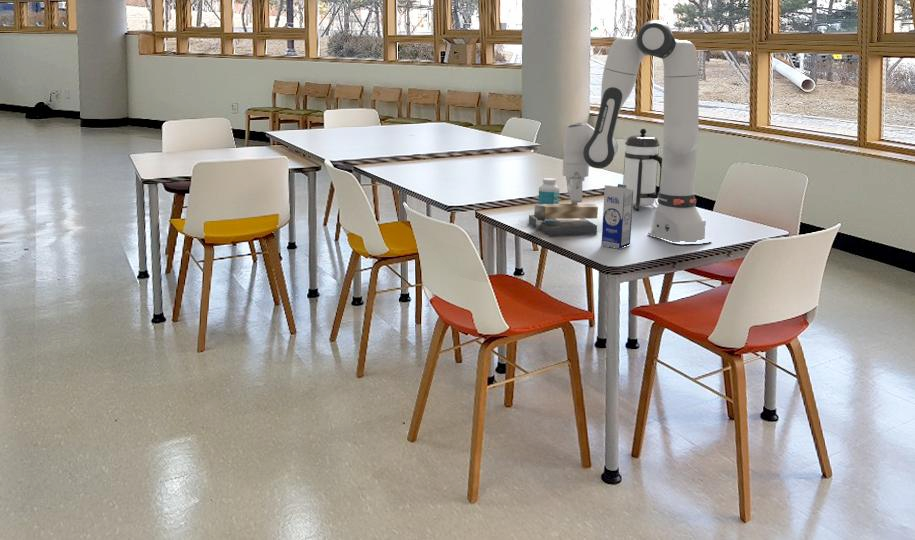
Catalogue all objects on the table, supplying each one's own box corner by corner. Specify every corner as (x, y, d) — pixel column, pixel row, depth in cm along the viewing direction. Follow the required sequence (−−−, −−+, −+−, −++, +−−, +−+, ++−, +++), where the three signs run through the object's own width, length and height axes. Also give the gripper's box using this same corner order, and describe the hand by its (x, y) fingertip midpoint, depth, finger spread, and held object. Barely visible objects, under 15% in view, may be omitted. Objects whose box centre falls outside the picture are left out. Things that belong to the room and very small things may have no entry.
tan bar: (535, 218, 322) (535, 207, 321) (533, 215, 327) (533, 204, 326) (597, 218, 324) (597, 206, 323) (594, 215, 329) (594, 203, 328)
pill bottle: (557, 218, 344) (558, 181, 340) (536, 217, 346) (538, 180, 342) (559, 213, 351) (560, 177, 348) (539, 212, 353) (540, 176, 349)
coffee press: (615, 210, 359) (620, 130, 351) (621, 202, 374) (625, 125, 365) (662, 213, 354) (668, 132, 346) (666, 205, 369) (671, 127, 361)
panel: (596, 234, 321) (597, 222, 320) (546, 236, 316) (547, 224, 315) (573, 221, 340) (574, 209, 339) (526, 223, 335) (526, 211, 334)
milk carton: (600, 245, 306) (604, 184, 300) (611, 242, 311) (614, 181, 305) (620, 249, 302) (624, 187, 296) (630, 245, 307) (634, 184, 301)
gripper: (587, 176, 315) (585, 216, 319) (582, 165, 335) (580, 204, 338) (568, 175, 315) (566, 216, 319) (564, 165, 335) (563, 204, 339)
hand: (573, 210), depth 329 cm, fingers closed
